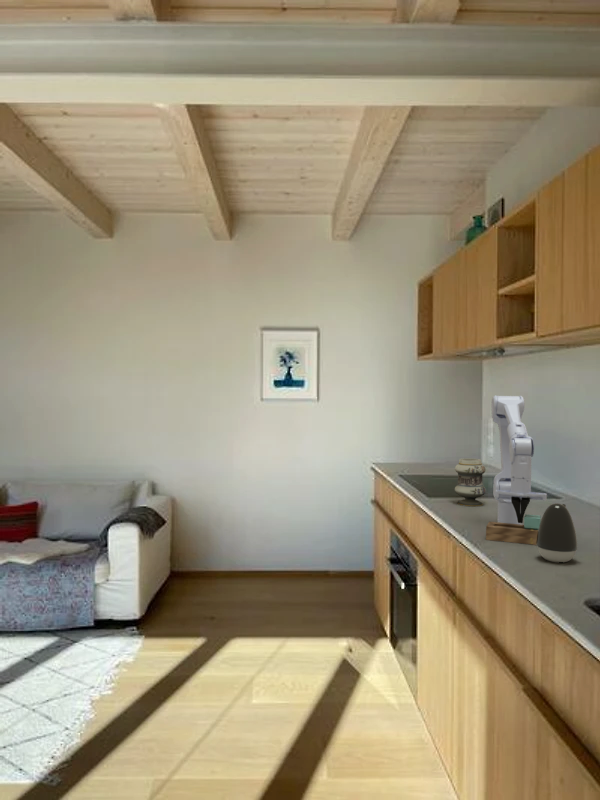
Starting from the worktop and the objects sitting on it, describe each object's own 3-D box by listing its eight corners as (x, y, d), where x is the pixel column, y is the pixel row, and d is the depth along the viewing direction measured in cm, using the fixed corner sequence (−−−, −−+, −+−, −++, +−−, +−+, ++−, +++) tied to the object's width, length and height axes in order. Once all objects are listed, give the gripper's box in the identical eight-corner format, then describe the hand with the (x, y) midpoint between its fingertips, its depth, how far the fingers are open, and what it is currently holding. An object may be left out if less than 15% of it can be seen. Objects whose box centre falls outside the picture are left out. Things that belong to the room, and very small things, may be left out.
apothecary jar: (464, 500, 255) (465, 456, 255) (491, 504, 247) (492, 459, 247) (448, 503, 247) (449, 458, 247) (475, 508, 238) (476, 461, 238)
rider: (523, 534, 185) (524, 517, 185) (525, 531, 189) (525, 514, 189) (539, 536, 183) (540, 518, 183) (540, 532, 188) (540, 515, 188)
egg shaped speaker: (582, 559, 166) (583, 503, 166) (569, 567, 159) (570, 508, 158) (544, 552, 173) (545, 498, 173) (530, 560, 165) (531, 503, 165)
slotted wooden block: (485, 539, 187) (486, 518, 187) (489, 534, 195) (489, 513, 195) (572, 548, 178) (572, 526, 178) (572, 542, 186) (572, 520, 185)
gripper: (494, 477, 186) (493, 522, 187) (546, 480, 181) (545, 527, 181) (497, 474, 193) (496, 518, 193) (547, 477, 187) (546, 522, 187)
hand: (520, 522), depth 187 cm, fingers closed
